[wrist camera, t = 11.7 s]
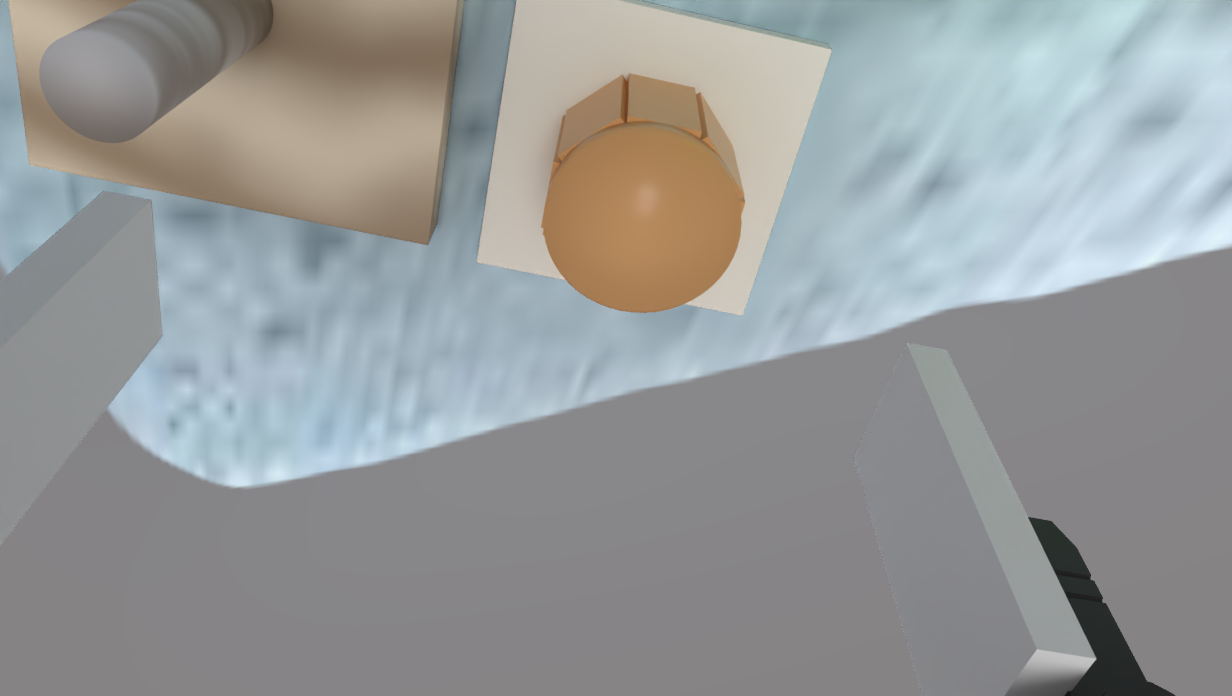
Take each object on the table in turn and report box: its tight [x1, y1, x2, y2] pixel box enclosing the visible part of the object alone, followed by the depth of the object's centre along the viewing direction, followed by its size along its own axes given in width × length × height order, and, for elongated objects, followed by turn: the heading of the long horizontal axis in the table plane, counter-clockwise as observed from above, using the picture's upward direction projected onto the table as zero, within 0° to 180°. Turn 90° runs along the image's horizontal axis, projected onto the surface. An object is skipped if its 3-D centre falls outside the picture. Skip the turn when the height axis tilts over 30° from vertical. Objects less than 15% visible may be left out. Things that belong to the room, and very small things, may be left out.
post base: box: [8, 0, 465, 245], centre depth 31 cm, size 16×16×12 cm
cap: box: [541, 73, 745, 313], centre depth 36 cm, size 7×7×6 cm
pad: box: [477, 0, 832, 316], centre depth 38 cm, size 12×12×1 cm
